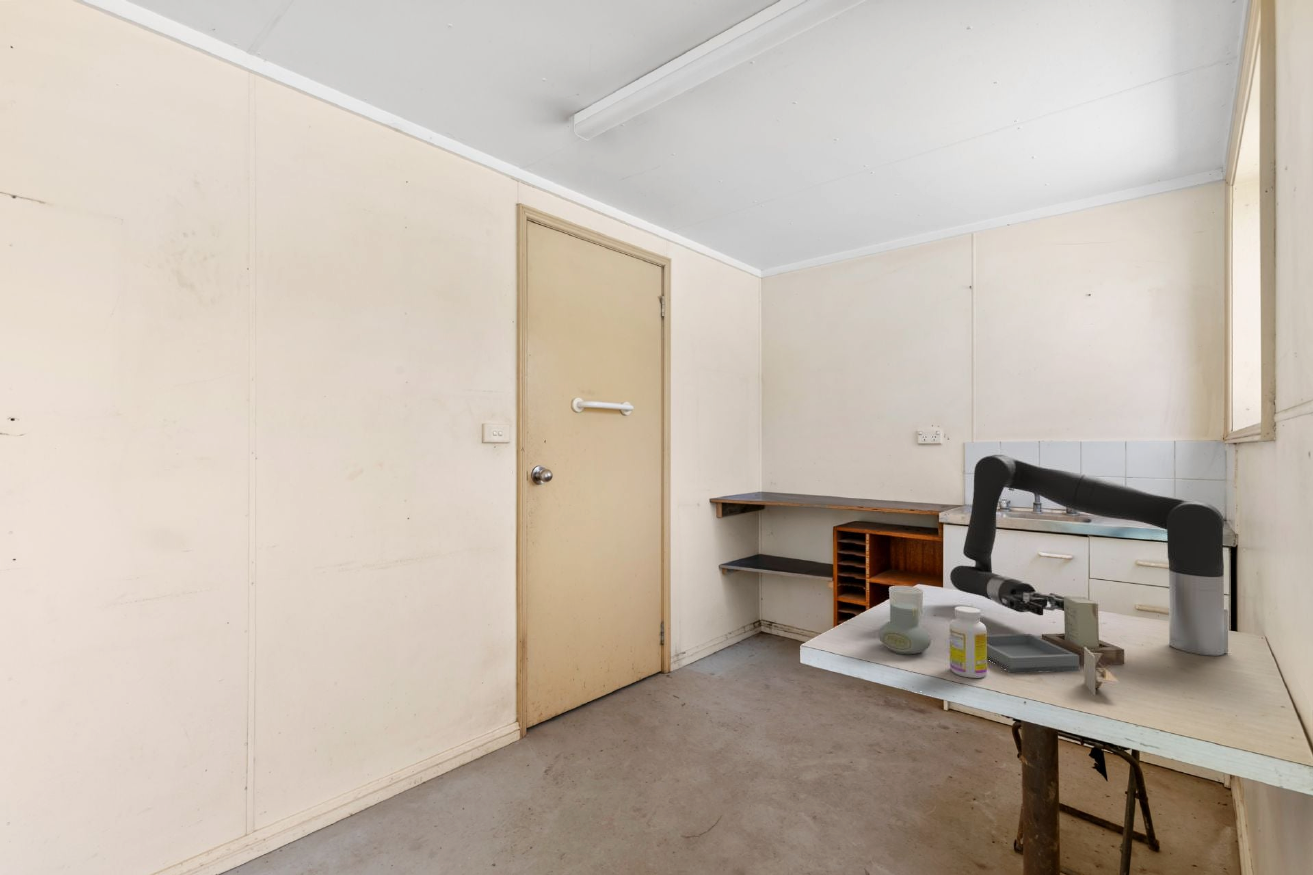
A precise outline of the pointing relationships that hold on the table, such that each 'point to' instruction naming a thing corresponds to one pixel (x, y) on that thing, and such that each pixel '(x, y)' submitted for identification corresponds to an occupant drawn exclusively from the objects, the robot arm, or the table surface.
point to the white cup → (907, 597)
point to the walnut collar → (1107, 650)
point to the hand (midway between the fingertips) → (1059, 610)
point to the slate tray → (1029, 654)
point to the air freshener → (904, 630)
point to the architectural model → (1091, 668)
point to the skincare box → (1081, 622)
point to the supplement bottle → (968, 643)
